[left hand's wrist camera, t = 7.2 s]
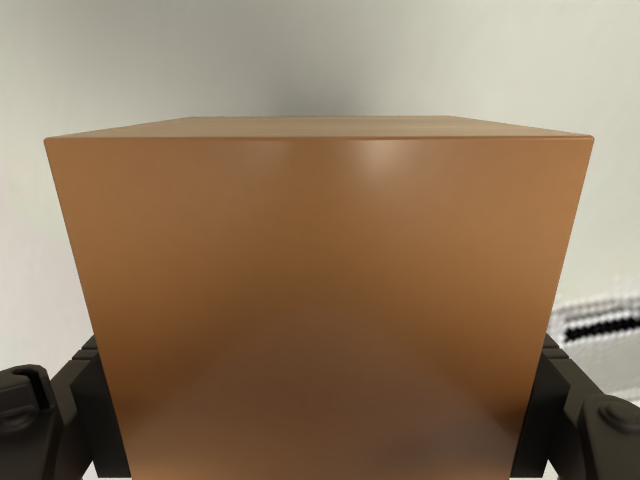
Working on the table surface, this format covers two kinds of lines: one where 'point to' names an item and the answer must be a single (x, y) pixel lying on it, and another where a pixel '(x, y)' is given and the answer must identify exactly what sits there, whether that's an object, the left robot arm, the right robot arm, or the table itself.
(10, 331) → the table surface
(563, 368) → the left robot arm
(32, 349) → the table surface
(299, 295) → the long beam
